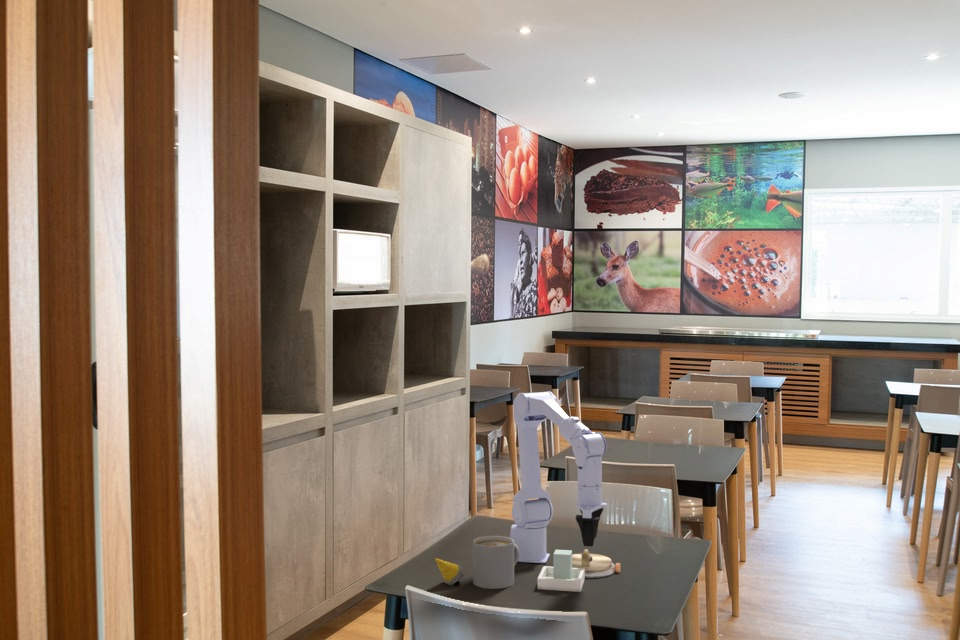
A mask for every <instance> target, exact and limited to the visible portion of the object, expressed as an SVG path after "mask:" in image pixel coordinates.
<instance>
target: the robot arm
mask: <svg viewBox="0 0 960 640" xmlns="http://www.w3.org/2000/svg"><path fill="white" fill-rule="evenodd" d="M512 403H513V404H512V407H513V420H514V424H516V427H517V439H518V441H517V442H518V451H519V469H520V479H521V488H520V489H519V490H518V491H517V492H516V493H515V494H514V495H513V497H512V506H511V516H512V519H513V522H514V523H515V524H512V525H511V527H510V533H509V538H511V539H513V540H514V544H516V545H517V546H518V549H519V558H518V562H517V563H532V564H533V563H534V564H547V562H548V560H549V558H550V555H551V554H550V553H547V526H549V525H550V522H551V521H552V520H553V519H552V518H553V516H554V507H553V504H552V500H551V494H550V493H549V492H548V491H546V490H545V489H544V488H543V487H542V478H541V477H542V475H541V464H540V463H541V462H540V461H541V460H540V451H539V448H540V447H539V434H538V427H539V426H540V425H541V423H543V422H544V421H546V420H547V419H548V420H549V421H551V422H552V423H553V424H554V425H555V426H557V427H558V432H559V435H560V436H561V437H562V438H563V439H564V440H565V441H566V442H567V443H568V444H569V445H571V447H572V448H571V449H572V452H573V455H574V461H575V465H576V466H577V502H576V507H577V508H578V509H579V512H580V513H581V514H576V515H575V520H576V522H577V523H576V524H578V527H579V530H580V535H581V539H582V543H583V547H593V546H594V544H595V539H596V537H597V534H598V528H599V522H600V519H601V516H602V513H603V512H604V508H607V507H608V502H603V477H602V476H603V475H602V474H603V468H602V467H603V463H602V462H603V457H604V456H605V455H606V454H607V450H608V444H607V440H606V437H605V436H604V434H603V433H602V432H595V431H592V430H590V428H589V427H587V426H586V425H585V424H584V423H583V422H581V420H580V418H579V417H578V416H569V415H568V414H567V413H566V412H565V411H564V410H563V408H562V407H561V406H560V405H559V404H558V399H557V396H556V395H554V393H553V391H550V390H548V391H540V392H519V393H518V394H516V397H514V400H513V401H512Z"/></svg>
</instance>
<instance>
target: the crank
mask: <svg viewBox="0 0 960 640" xmlns="http://www.w3.org/2000/svg"><path fill="white" fill-rule="evenodd" d="M612 563H613V562H612V559H611V558H610V557H608V556H606V555H602V554H599V553H597V554H596V553H590V552H589V550H588V549H587V548H585V549H583V551H582V552H581V553H572V568H585V572H598V571H604V570H607V569H609V568H611V566H612Z"/></svg>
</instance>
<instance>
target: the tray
mask: <svg viewBox="0 0 960 640" xmlns="http://www.w3.org/2000/svg"><path fill="white" fill-rule="evenodd" d="M585 579H586V578H585V568H572V579H556V578H554V570H553V566H549V565H548V566H547V565H544V566H543V567H542V568H541V570H540V572H539V574H538V576H537V590H547V591H562V592H577V593H581V591H582V589H583V586H584V582H585Z"/></svg>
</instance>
